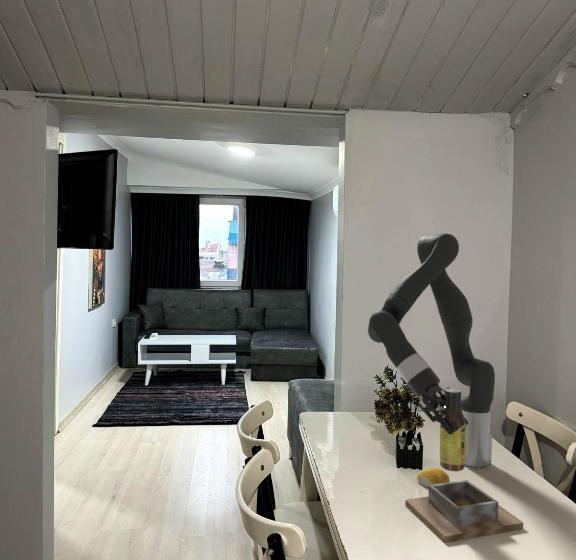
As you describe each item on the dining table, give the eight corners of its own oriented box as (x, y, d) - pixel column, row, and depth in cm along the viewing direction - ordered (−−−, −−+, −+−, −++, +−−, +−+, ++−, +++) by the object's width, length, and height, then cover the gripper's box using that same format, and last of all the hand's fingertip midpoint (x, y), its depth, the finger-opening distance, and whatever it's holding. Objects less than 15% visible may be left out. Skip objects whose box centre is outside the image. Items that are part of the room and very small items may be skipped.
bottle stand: (476, 494, 142) (476, 473, 142) (523, 528, 125) (524, 504, 124) (405, 505, 136) (405, 483, 135) (444, 542, 118) (445, 517, 118)
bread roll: (454, 484, 149) (455, 470, 148) (434, 492, 144) (434, 478, 143) (432, 473, 155) (432, 461, 155) (411, 481, 150) (411, 467, 150)
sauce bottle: (466, 473, 127) (468, 395, 125) (440, 471, 128) (441, 393, 126) (463, 462, 133) (464, 387, 131) (438, 460, 134) (439, 386, 133)
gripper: (412, 371, 129) (456, 429, 121) (440, 361, 139) (482, 414, 132) (394, 388, 133) (435, 444, 125) (422, 377, 143) (462, 429, 136)
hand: (459, 429), depth 129 cm, fingers closed on sauce bottle, 6 cm apart
